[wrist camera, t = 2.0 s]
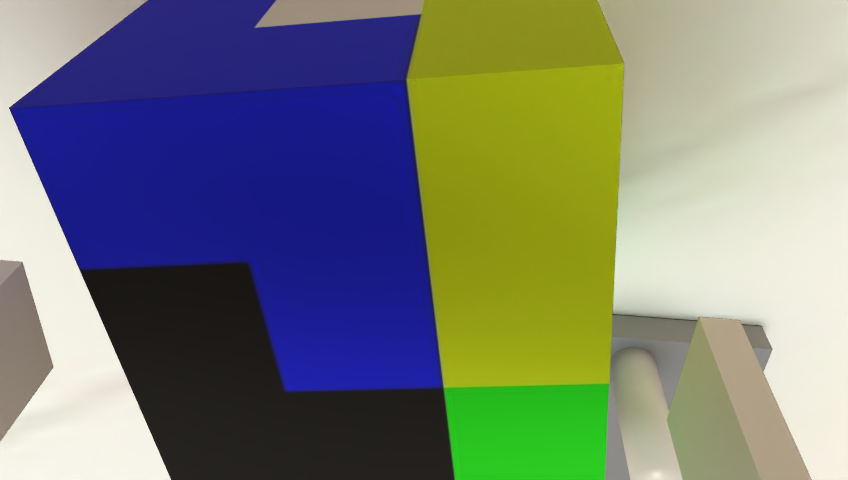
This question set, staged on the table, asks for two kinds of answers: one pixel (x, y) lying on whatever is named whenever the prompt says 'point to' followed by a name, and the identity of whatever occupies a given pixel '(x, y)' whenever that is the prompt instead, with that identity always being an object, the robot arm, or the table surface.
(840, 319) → the table surface
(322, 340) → the puzzle toy
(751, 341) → the tray
